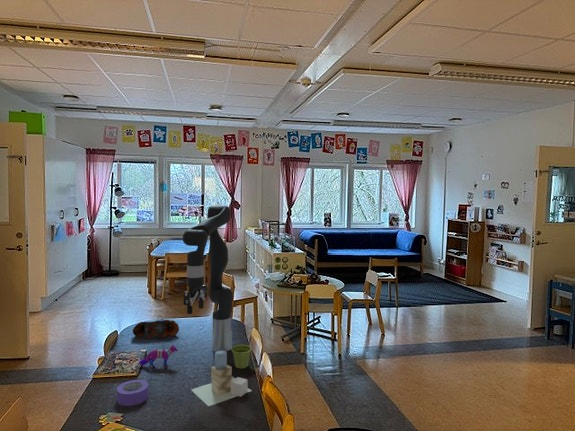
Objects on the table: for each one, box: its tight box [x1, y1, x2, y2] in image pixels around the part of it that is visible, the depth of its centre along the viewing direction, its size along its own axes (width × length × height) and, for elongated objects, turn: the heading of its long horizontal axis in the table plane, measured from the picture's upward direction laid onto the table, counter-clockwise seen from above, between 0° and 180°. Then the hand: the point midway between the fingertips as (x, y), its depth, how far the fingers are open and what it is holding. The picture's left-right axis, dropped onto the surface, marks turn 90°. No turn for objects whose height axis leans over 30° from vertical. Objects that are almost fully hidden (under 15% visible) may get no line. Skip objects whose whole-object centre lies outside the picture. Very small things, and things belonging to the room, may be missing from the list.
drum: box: [214, 351, 228, 370], centre depth 170 cm, size 5×5×6 cm
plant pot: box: [230, 344, 252, 369], centre depth 194 cm, size 9×9×9 cm
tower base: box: [211, 379, 231, 395], centre depth 171 cm, size 6×6×5 cm
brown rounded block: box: [132, 319, 180, 340], centre depth 235 cm, size 25×13×17 cm
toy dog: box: [138, 344, 179, 368], centre depth 193 cm, size 4×18×10 cm, turn 97°
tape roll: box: [116, 379, 149, 407], centre depth 164 cm, size 12×12×5 cm
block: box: [231, 376, 249, 398], centre depth 169 cm, size 5×5×5 cm
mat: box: [190, 375, 252, 407], centre depth 171 cm, size 20×16×1 cm
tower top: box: [210, 364, 233, 384], centre depth 170 cm, size 6×6×5 cm
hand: (195, 311), depth 181 cm, fingers open, 8 cm apart
